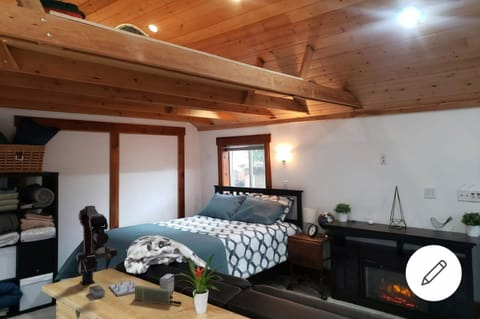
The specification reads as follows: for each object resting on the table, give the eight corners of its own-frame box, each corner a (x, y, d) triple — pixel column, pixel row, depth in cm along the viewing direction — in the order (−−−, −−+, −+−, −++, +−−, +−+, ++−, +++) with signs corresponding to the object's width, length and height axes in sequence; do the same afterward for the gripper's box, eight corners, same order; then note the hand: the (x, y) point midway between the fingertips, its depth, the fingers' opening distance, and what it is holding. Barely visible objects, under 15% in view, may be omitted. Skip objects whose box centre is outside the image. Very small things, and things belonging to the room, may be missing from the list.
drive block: (89, 293, 177) (89, 286, 177) (99, 291, 180) (99, 284, 180) (94, 299, 170) (94, 291, 170) (104, 296, 173) (104, 289, 173)
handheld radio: (137, 297, 172) (182, 304, 164) (133, 300, 169) (179, 307, 161) (137, 284, 172) (182, 290, 164) (133, 287, 169) (179, 293, 161)
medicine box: (168, 296, 173) (168, 278, 173) (159, 295, 174) (159, 278, 174) (174, 290, 181) (174, 274, 181) (166, 290, 182) (166, 273, 182)
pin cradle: (109, 287, 186) (109, 280, 186) (131, 282, 193) (131, 276, 193) (117, 296, 173) (117, 289, 173) (141, 291, 180) (141, 284, 180)
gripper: (80, 246, 163) (80, 279, 163) (120, 241, 174) (120, 272, 174) (76, 241, 173) (75, 273, 173) (114, 237, 183) (114, 266, 183)
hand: (97, 271), depth 175 cm, fingers open, 9 cm apart
